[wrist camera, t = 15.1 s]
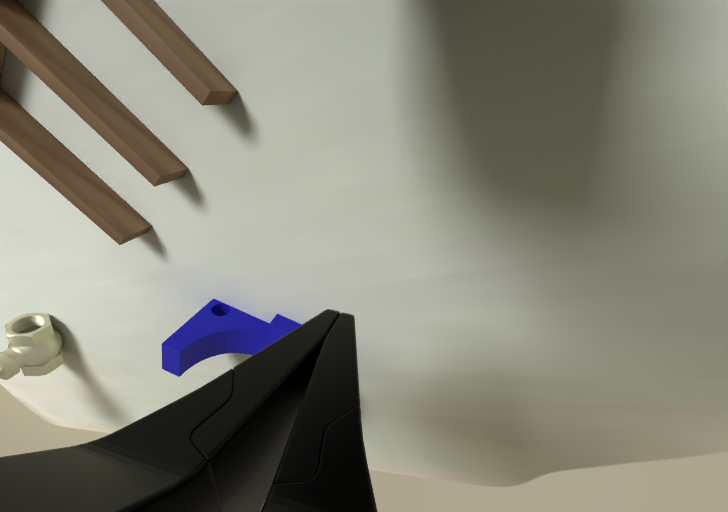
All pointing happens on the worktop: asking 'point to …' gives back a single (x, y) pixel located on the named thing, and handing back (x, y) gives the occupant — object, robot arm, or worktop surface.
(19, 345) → the valve
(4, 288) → the worktop surface
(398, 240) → the worktop surface
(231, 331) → the cable clip
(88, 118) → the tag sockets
